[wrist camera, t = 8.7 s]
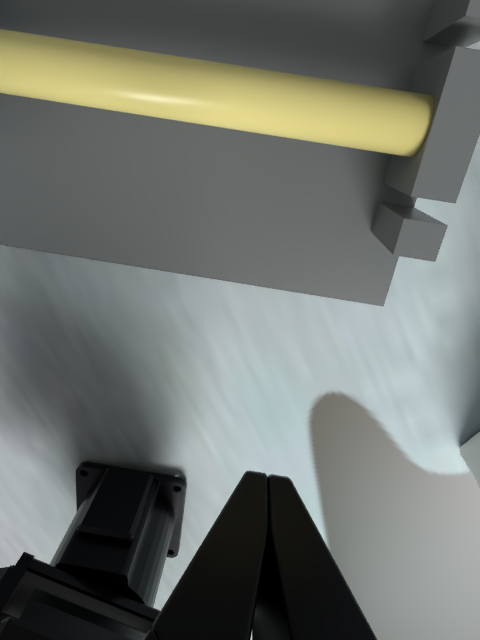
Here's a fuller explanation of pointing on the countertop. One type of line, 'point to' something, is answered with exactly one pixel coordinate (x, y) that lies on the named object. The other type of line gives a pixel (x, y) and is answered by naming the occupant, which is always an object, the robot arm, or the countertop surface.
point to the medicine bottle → (472, 456)
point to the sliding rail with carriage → (237, 134)
